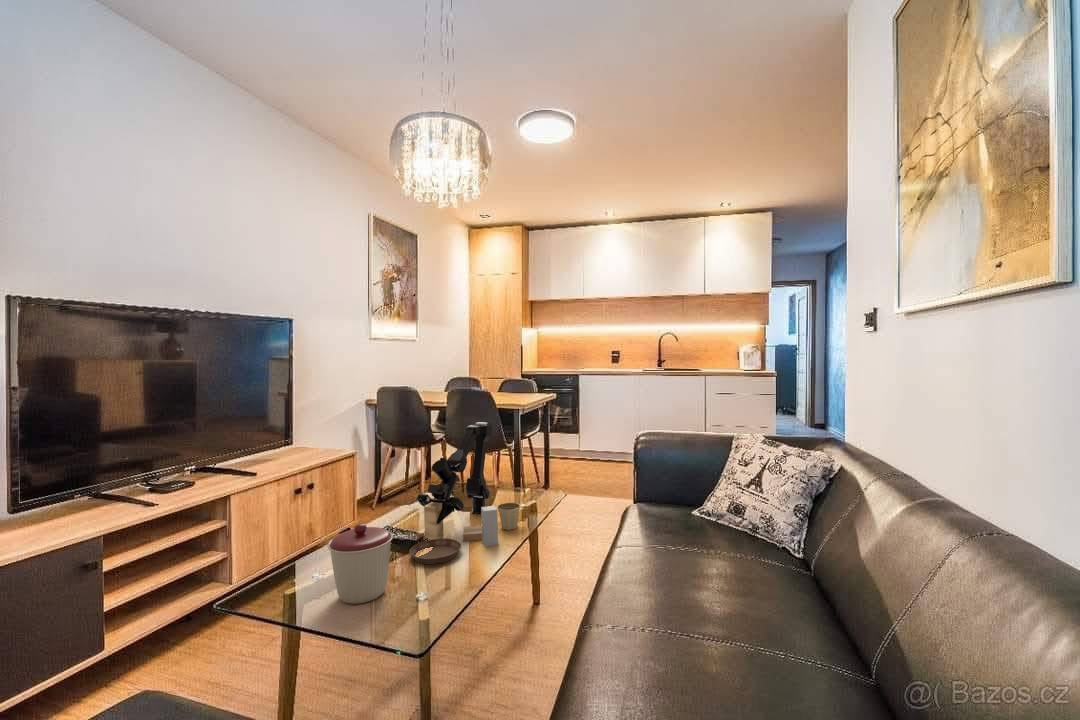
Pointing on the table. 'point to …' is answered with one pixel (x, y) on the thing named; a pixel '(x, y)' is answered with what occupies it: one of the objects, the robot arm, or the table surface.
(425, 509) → the oak pillar
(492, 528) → the grey pillar
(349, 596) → the canister
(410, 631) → the table surface
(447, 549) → the plant saucer
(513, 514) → the flower pot
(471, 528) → the walnut block
